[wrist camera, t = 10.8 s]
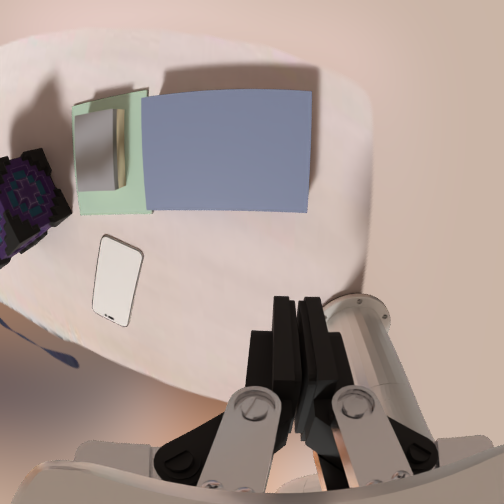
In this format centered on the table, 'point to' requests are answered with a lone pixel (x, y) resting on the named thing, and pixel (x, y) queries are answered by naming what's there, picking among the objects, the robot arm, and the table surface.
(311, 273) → the table surface
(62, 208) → the energy cube
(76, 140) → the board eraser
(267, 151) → the textbook
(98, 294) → the smartphone
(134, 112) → the mat
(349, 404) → the robot arm
